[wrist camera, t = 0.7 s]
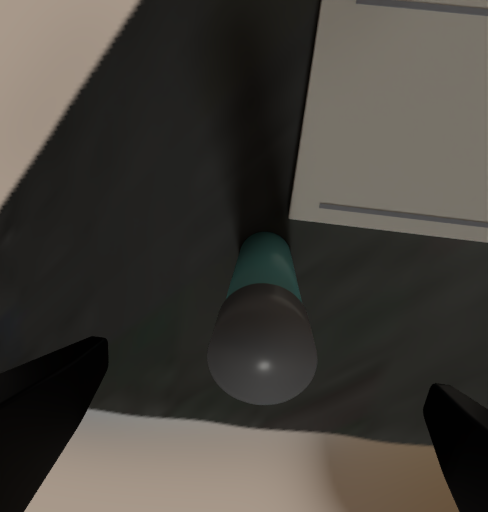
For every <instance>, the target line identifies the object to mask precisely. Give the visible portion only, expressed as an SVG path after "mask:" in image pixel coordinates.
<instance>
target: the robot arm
mask: <svg viewBox="0 0 488 512" xmlns="http://www.w3.org/2000/svg"><path fill="white" fill-rule="evenodd" d="M107 369H108V341H107V339H106V338H102V337H95V336H91V337H89V338H86V339H84V340H81V341H79V342H76V343H74V344H71V345H69V346H67V347H64V348H62V349H59V350H57V351H54V352H52V353H49V354H47V355H44V356H42V357H39V358H37V359H35V360H32V361H30V362H27V363H25V364H22V365H20V366H17V367H15V368H12V369H10V370H8V371H5V372H3V373H0V512H24V511H25V509H26V508H27V506H28V504H29V503H30V501H31V500H32V498H33V497H34V495H35V493H36V492H37V490H38V489H39V487H40V486H41V484H42V482H43V481H44V479H45V478H46V476H47V475H48V473H49V472H50V470H51V468H52V467H53V465H54V464H55V462H56V461H57V459H58V457H59V456H60V454H61V453H62V451H63V450H64V448H65V446H66V445H67V443H68V442H69V440H70V439H71V437H72V435H73V434H74V432H75V431H76V429H77V427H78V426H79V424H80V422H81V421H82V419H83V417H84V415H85V413H86V411H87V409H88V407H89V405H90V403H91V401H92V399H93V397H94V395H95V393H96V391H97V389H98V387H99V386H100V384H101V382H102V380H103V378H104V376H105V374H106V371H107ZM423 415H424V419H425V422H426V425H427V428H428V431H429V434H430V437H431V440H432V443H433V446H434V449H435V452H436V455H437V458H438V461H439V464H440V467H441V469H442V472H443V474H444V477H445V480H446V482H447V484H448V487H449V489H450V491H451V494H452V496H453V498H454V500H455V503H456V505H457V507H458V509H459V512H488V409H486V408H485V407H483V406H482V405H480V404H479V403H477V402H475V401H474V400H472V399H471V398H469V397H468V396H466V395H465V394H463V393H461V392H460V391H458V390H457V389H455V388H454V387H452V386H450V385H445V384H438V383H435V384H432V386H431V387H430V390H429V393H428V396H427V398H426V401H425V404H424V408H423Z"/></svg>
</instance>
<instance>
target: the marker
mask: <svg viewBox="0 0 488 512" xmlns="http://www.w3.org/2000/svg"><path fill="white" fill-rule="evenodd" d="M207 360H208V366H209V369H210V372H211V374H212V377H213V378H214V380H215V381H216V383H217V384H218V385H219V386H220V387H221V388H222V389H223V390H224V391H225V392H226V393H228V394H229V395H231V396H232V397H234V398H236V399H238V400H241V401H243V402H247V403H251V404H257V405H271V404H277V403H282V402H285V401H287V400H290V399H292V398H293V397H295V396H297V395H298V394H300V393H301V392H302V391H303V390H304V389H305V388H306V387H307V386H308V385H309V383H310V382H311V380H312V378H313V376H314V374H315V371H316V367H317V352H316V347H315V343H314V339H313V335H312V331H311V327H310V323H309V319H308V315H307V312H306V309H305V307H304V305H303V304H302V301H301V297H300V292H299V288H298V284H297V279H296V275H295V270H294V266H293V262H292V257H291V253H290V249H289V246H288V244H287V243H286V241H285V240H284V239H283V238H282V237H280V236H279V235H277V234H275V233H272V232H258V233H255V234H253V235H251V236H250V237H248V238H247V239H246V240H245V241H244V243H243V244H242V246H241V249H240V252H239V256H238V259H237V263H236V266H235V270H234V273H233V276H232V280H231V283H230V287H229V290H228V293H227V297H226V300H225V301H224V303H223V304H222V306H221V308H220V311H219V314H218V317H217V321H216V324H215V327H214V330H213V333H212V337H211V340H210V343H209V346H208V352H207Z"/></svg>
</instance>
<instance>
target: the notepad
mask: <svg viewBox="0 0 488 512" xmlns="http://www.w3.org/2000/svg"><path fill="white" fill-rule="evenodd" d="M288 218H289V219H295V220H303V221H312V222H320V223H328V224H337V225H345V226H353V227H362V228H370V229H379V230H387V231H395V232H404V233H412V234H420V235H429V236H437V237H445V238H454V239H462V240H471V241H479V242H487V243H488V0H321V4H320V10H319V17H318V23H317V30H316V37H315V43H314V50H313V56H312V63H311V70H310V76H309V83H308V89H307V96H306V103H305V109H304V116H303V123H302V129H301V136H300V142H299V149H298V156H297V162H296V169H295V175H294V182H293V189H292V195H291V202H290V209H289V215H288Z"/></svg>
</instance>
